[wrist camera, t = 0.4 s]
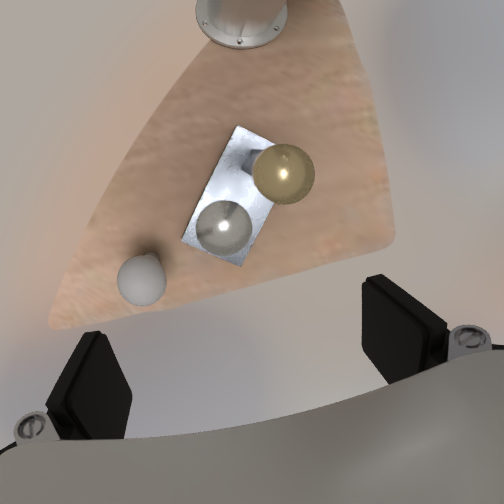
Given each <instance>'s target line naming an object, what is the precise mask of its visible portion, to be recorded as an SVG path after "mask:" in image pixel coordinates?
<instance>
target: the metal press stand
mask: <svg viewBox="0 0 504 504" xmlns="http://www.w3.org/2000/svg"><path fill="white" fill-rule="evenodd" d="M272 145H275V144H273V143H271V142H270V141H268V140H266V139H264V138H262V137H260V136H258V135H256V134H254V133H252V132H250V131H248V130H246V129H244V128H242V127H240V126H238V125H237V126H236V128H235V130H234V132H233V134H232V136H231V138H230V140H229V142H228V144H227V145H226V147H225V149H224V151H223V153H222V155H221V157H220V159H219V161H218V163H217V165H216V167H215V169H214V171H213V173H212V175H211V177H210V179H209V181H208V184H207V186H206V188H205V190H204V192H203V194H202V196H201V198H200V200H199V202H198V204H197V207H196V209H195V211H194V213H193V215H192V217H191V219H190V222H189V224H188V226H187V228H186V230H185V233H184V235H183V237H182V240H181V241H182V242H184V243H187V244H189V245H191V246H193V247H196V248H198V249H200V250H203V251H205V252H207V253H210V254H212V255H214V256H216V257H219V258H221V259H223V260H226V261H228V262H230V263H233V264H235V265H237V266H240V267H241V266H242V264H243V262H244V260H245V258H246V256H247V254H248V252H249V250H250V248H251V246H252V244H253V242H254V241H255V239H256V237H257V235H258V233H259V231H260V229H261V227H262V225H263V223H264V221H265V219H266V217H267V216H268V214H269V212H270V210H271V208H272V206H273V204H274V202H271V201H270V200H268V199H267V198H265V197H264V196H263V195H262V194H261V193H260V192H259V191H258V190H257V188H256V187H255V185H254V183H253V179H252V166H253V163H254V161H255V159H256V157H257V156H258V154H259V153H260V152H261V151H263V150H264V149H265V148H267V147H269V146H272Z"/></svg>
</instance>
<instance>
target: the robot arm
mask: <svg viewBox="0 0 504 504" xmlns="http://www.w3.org/2000/svg"><path fill="white" fill-rule="evenodd" d="M286 1H287V0H197V4H196V19H197V22H198V24H199V27H200V28H201V30H202V31H203V33H204V34H205V35H207V36H208V37H209V38H210V39H211V40H213V41H214V42H216V43H218V44H220V45H223V46H226V47H230V48H235V49H251V48H256V47H260V46H262V45H265V44H267V43H269V42H270V41H272V40H274V39H275V38H276V37H277V36H278V35H279V34H280V32H281V31H282V30H283V28H284V26H285V24H286V21H287V18H288V9H287V4H286ZM204 24H207V26H204ZM274 29H276V30H277V31H275V30H274ZM239 42H240V43H241V45H239V44H238V43H239ZM362 348H363V351H364V352H365V354H366V355H367V356H368V358H369V359H370V360H371V361H372V363H373V364H374V365H375V367H376V368H377V369H378V371H379V372H380V373H381V375H382V376H383V377H384V379H385V380H386V381H387V383H388V384H389V385H387V386H384V387H382V388H379V389H376V390H373V391H370V392H368V393H364V394H362V395H358V396H355V397H353V398H349V399H346V400H343V401H340V402H336V403H333V404H330V405H326V406H323V407H319V408H316V409H312V410H308V411H305V412H301V413H297V414H293V415H289V416H285V417H280V418H276V419H271V420H267V421H262V422H257V423H253V424H247V425H242V426H236V427H231V428H225V429H219V430H212V431H205V432H198V433H191V434H183V435H182V434H181V435H172V436H162V437H149V438H134V439H124V435H125V430H126V425H127V420H128V416H129V412H130V407H131V403H132V392H131V389H130V387H129V385H128V383H127V381H126V379H125V377H124V374H123V372H122V370H121V368H120V366H119V363H118V361H117V359H116V357H115V354H114V352H113V350H112V347H111V345H110V343H109V340H108V338H107V336H106V335H105V334H102V333H101V332H100V331H93V332H86V333H84V334H83V336H82V338H81V340H80V341H79V343H78V345H77V346H76V348H75V350H74V352H73V353H72V355H71V357H70V359H69V360H68V362H67V364H66V366H65V368H64V369H63V371H62V373H61V375H60V377H59V379H58V381H57V383H56V384H55V386H54V388H53V390H52V392H51V394H50V396H49V398H48V400H47V402H46V404H45V405H46V406H47V408H48V411H47V413H44V412H40V411H35V412H31V413H28V414H26V415H25V416H23V417H22V418H21V419H20V420H19V421H18V422H17V424H16V425H15V428H14V437H15V440H16V441H15V442H13V443H12V444H10V445H8V446H7V447H5V448H3V449H2V450H0V504H504V345H495V344H491V338H490V335H489V333H488V332H487V331H486V330H484V329H483V328H481V327H478V326H475V325H461V326H458V327H456V328H454V329H453V330H452V331H449V330H448V329H447V323H446V322H445V321H444V320H443V319H441V318H440V317H439V316H437V315H436V314H435V313H434V312H432V311H431V310H430V309H428V308H427V307H426V306H424V305H423V304H422V303H420V302H419V301H418V300H416V299H415V298H414V297H412V296H411V295H410V294H408V293H407V292H406V291H404V290H403V289H402V288H400V287H399V286H398V285H396V284H395V283H394V282H392V281H391V280H390V279H388V278H387V277H385V276H384V275H382V274H379V275H375V276H371V277H367V278H366V282H364V283H362Z"/></svg>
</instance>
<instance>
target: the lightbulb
mask: <svg viewBox="0 0 504 504" xmlns="http://www.w3.org/2000/svg"><path fill="white" fill-rule="evenodd" d="M159 262H160V260H159V257H158V255H157V254H155V253H153V252H148V253H146V254H145V255H144V256H143V255H140V256H135V257H132V258H130V259H128V260H127V261H125V262H124V263H123V265H122V266H121V268H120V270H119V272H118V276H117V284H118V289H119V291H120V293H121V295H122V297H123V298H124V299H125V300H126V301H128V302H129V303H131V304H133V305H136V306H149V305H151V304H153V303H155V302H157V301H158V300H159V299H160V298H161V297H162V295H163V294H164V292H165V289H166V285H167V279H166V274H165V271H164V269H163V267H162V266H161V264H160V263H159Z"/></svg>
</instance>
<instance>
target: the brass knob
mask: <svg viewBox="0 0 504 504" xmlns="http://www.w3.org/2000/svg"><path fill="white" fill-rule="evenodd" d="M314 177H315V172H314V166H313V163H312V161H311V159H310V157H309V156H308V155H307V154H306V153H305V152H304V151H303V150H302V149H300V148H298V147H296V146H293V145H288V144H279V145H272V146H269V147H267V148H265V149H264V150H263V151H261V152H260V153H259V154H258V156H257V157H256V159H255V161H254V163H253V166H252V179H253V183H254V185H255V187H256V188H257V190H258V191H259V192H260V193H261V194H262V195H263V196H264V197H265V198H267V199H268V200H270V201H271V202H274V203H277V204H282V205H287V204H293V203H296V202H298V201H300V200H301V199H303V198H304V197H305V196H306V195H307V194H308V193H309V191H310V190H311V188H312V185H313V182H314Z"/></svg>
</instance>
